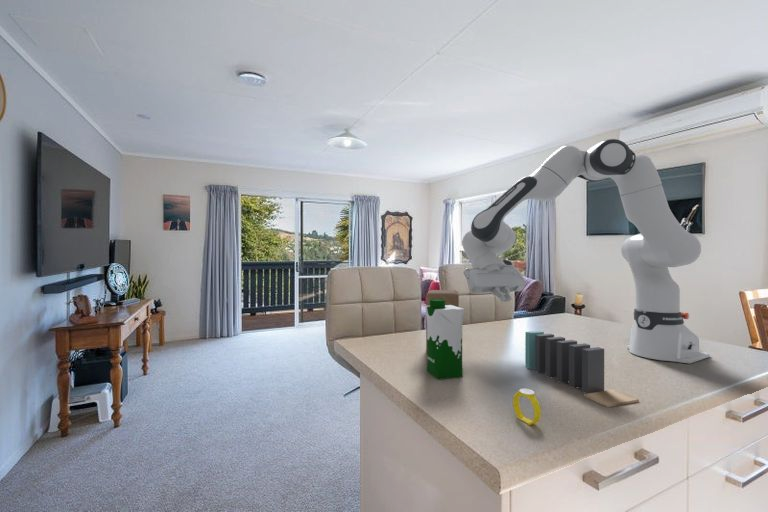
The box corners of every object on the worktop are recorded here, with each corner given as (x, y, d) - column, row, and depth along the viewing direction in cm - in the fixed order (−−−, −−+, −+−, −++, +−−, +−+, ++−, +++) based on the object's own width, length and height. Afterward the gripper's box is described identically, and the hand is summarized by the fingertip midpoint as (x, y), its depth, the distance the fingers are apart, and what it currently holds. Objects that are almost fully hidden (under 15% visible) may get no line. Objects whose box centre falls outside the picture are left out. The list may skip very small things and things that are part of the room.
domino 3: (545, 375, 94) (545, 338, 94) (560, 373, 96) (560, 336, 96) (550, 377, 93) (550, 339, 93) (565, 375, 94) (565, 337, 94)
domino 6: (581, 391, 83) (582, 349, 83) (598, 389, 85) (598, 347, 85) (587, 394, 82) (588, 350, 82) (604, 391, 84) (604, 348, 83)
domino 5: (568, 385, 87) (568, 345, 87) (584, 383, 89) (584, 343, 89) (574, 388, 86) (574, 346, 85) (590, 385, 87) (590, 344, 87)
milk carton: (422, 370, 99) (422, 298, 98) (452, 367, 101) (452, 296, 101) (436, 381, 90) (436, 302, 90) (468, 377, 93) (468, 300, 93)
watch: (543, 428, 67) (545, 397, 66) (531, 431, 66) (533, 399, 65) (520, 412, 72) (521, 384, 72) (509, 414, 71) (510, 385, 71)
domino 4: (556, 380, 91) (556, 341, 91) (571, 378, 92) (572, 339, 92) (561, 382, 89) (561, 342, 89) (577, 380, 91) (577, 341, 91)
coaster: (613, 391, 83) (613, 389, 83) (638, 401, 78) (638, 399, 78) (583, 396, 81) (583, 394, 81) (608, 407, 75) (608, 404, 75)
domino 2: (535, 371, 98) (535, 334, 98) (549, 369, 99) (549, 333, 99) (539, 373, 96) (539, 336, 96) (554, 371, 98) (554, 334, 98)
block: (458, 358, 110) (458, 293, 110) (425, 356, 112) (425, 292, 112) (458, 349, 119) (458, 290, 119) (428, 348, 121) (428, 289, 121)
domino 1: (525, 367, 101) (525, 331, 101) (539, 365, 103) (539, 330, 103) (529, 368, 100) (529, 333, 100) (543, 367, 102) (543, 331, 101)
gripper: (465, 262, 117) (482, 295, 108) (517, 261, 123) (537, 293, 114) (458, 275, 121) (474, 308, 112) (508, 273, 128) (527, 305, 118)
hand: (506, 300), depth 113 cm, fingers closed
